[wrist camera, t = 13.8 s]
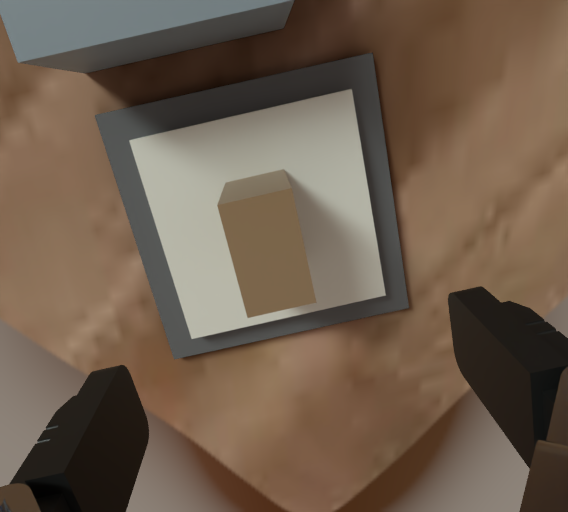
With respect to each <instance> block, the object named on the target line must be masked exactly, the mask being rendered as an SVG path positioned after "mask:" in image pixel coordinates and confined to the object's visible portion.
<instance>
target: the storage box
mask: <svg viewBox="0 0 568 512" xmlns="http://www.w3.org/2000/svg"><path fill="white" fill-rule="evenodd" d="M293 3H294V0H0V14H1V17H2V20H3V22H4V25H5V28H6V31H7V33H8V36H9V39H10V42H11V44H12V47H13V50H14V53H15V55H16V58H17V61H18V63H24V64H30V65H36V66H42V67H48V68H55V69H61V70H67V71H73V72H79V73H89V72H94V71H98V70H102V69H107V68H111V67H116V66H120V65H125V64H129V63H133V62H138V61H142V60H147V59H151V58H155V57H160V56H164V55H169V54H173V53H177V52H182V51H186V50H191V49H195V48H200V47H204V46H208V45H213V44H217V43H222V42H226V41H230V40H235V39H239V38H244V37H248V36H252V35H257V34H261V33H266V32H270V31H275V30H279V29H283V28H284V26H285V23H286V21H287V18H288V16H289V13H290V11H291V8H292V5H293Z"/></svg>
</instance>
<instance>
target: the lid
mask: <svg viewBox="0 0 568 512" xmlns="http://www.w3.org/2000/svg"><path fill="white" fill-rule="evenodd" d="M129 142H130V145H131V148H132V151H133V155H134V158H135V161H136V164H137V167H138V170H139V174H140V177H141V180H142V183H143V186H144V189H145V193H146V196H147V199H148V202H149V205H150V209H151V212H152V215H153V218H154V221H155V224H156V228H157V231H158V234H159V237H160V240H161V243H162V247H163V250H164V253H165V256H166V259H167V262H168V266H169V269H170V272H171V275H172V278H173V281H174V285H175V288H176V291H177V294H178V297H179V301H180V304H181V307H182V310H183V313H184V316H185V320H186V323H187V326H188V329H189V332H190V335H191V339H195V338H199V337H204V336H208V335H213V334H217V333H221V332H226V331H230V330H235V329H239V328H244V327H248V326H252V325H257V324H261V323H266V322H270V321H275V320H279V319H283V318H288V317H292V316H297V315H301V314H306V313H310V312H315V311H319V310H323V309H328V308H332V307H337V306H341V305H346V304H350V303H354V302H359V301H363V300H368V299H372V298H377V297H381V296H386V294H385V288H384V281H383V275H382V269H381V263H380V257H379V251H378V245H377V239H376V233H375V227H374V221H373V215H372V209H371V203H370V197H369V190H368V184H367V178H366V172H365V166H364V160H363V154H362V148H361V142H360V136H359V130H358V124H357V118H356V112H355V106H354V99H353V93H352V89H348V90H344V91H339V92H335V93H331V94H326V95H322V96H318V97H313V98H309V99H305V100H300V101H296V102H292V103H287V104H283V105H279V106H274V107H270V108H266V109H261V110H257V111H253V112H249V113H244V114H240V115H236V116H231V117H227V118H223V119H218V120H214V121H210V122H205V123H201V124H197V125H192V126H188V127H184V128H179V129H175V130H171V131H166V132H162V133H158V134H154V135H149V136H145V137H141V138H136V139H132V140H129Z"/></svg>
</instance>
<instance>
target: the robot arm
mask: <svg viewBox="0 0 568 512" xmlns="http://www.w3.org/2000/svg"><path fill="white" fill-rule="evenodd" d="M448 305H449V313H450V322H451V330H452V338H453V347H454V353H455V357H456V361H457V364H458V367H459V369H460V371H461V373H462V375H463V376H464V378H465V379H466V381H467V382H468V383H469V385H470V386H471V388H472V389H473V390H474V392H475V393H476V394H477V396H478V397H479V399H480V400H481V402H482V403H483V404H484V406H485V407H486V409H487V410H488V411H489V413H490V414H491V416H492V417H493V418H494V420H495V421H496V422H497V424H498V425H499V427H500V428H501V429H502V431H503V432H504V433H505V435H506V436H507V438H508V439H509V441H510V442H511V443H512V445H513V446H514V448H515V449H516V450H517V452H518V453H519V455H520V456H521V457H522V459H523V460H524V461H525V463H526V464H527V466H528V467H529V468H530V471H529V475H528V479H527V484H526V487H525V492H524V496H523V500H522V504H521V508H520V512H568V338H567V337H565V336H564V335H563V334H562V333H560V332H559V331H556V329H555V328H554V327H553V326H552V325H550V324H549V323H548V322H545V321H544V319H543V318H542V317H540V316H539V315H538V314H537V313H535V312H534V311H533V310H532V309H530V308H528V307H525V306H522V305H519V304H517V303H514V302H511V301H507V302H503V303H501V302H500V301H499V300H497V299H496V298H495V297H494V296H493V295H492V294H490V293H489V292H488V291H487V290H486V289H485V288H483V287H481V286H480V287H475V288H471V289H466V290H462V291H457V292H453V293H450V294H449V297H448ZM148 439H149V427H148V421H147V417H146V414H145V412H144V409H143V406H142V404H141V401H140V398H139V396H138V393H137V391H136V388H135V385H134V383H133V380H132V377H131V375H130V373H129V371H128V369H127V368H126V367H125V366H124V365H120V366H115V367H111V368H106V369H102V370H97V371H93V372H91V373H90V375H89V376H88V378H87V379H86V381H85V383H84V384H83V386H82V388H81V389H80V391H79V393H78V394H77V396H73V397H72V398H71V399H70V400H68V401H67V402H66V403H65V404H64V405H63V406H62V407H61V408H60V409H58V410H57V411H56V413H55V414H54V416H53V417H52V419H51V420H50V422H49V423H48V425H47V426H46V430H44V431H43V433H42V434H41V436H40V437H39V439H38V440H37V441H38V444H35V446H34V447H33V448H32V450H31V451H30V453H29V454H28V456H27V458H26V459H25V461H24V462H23V464H22V465H21V467H20V468H19V470H18V471H17V473H16V475H15V476H14V478H13V479H12V481H11V482H10V484H9V485H5V486H3V487H0V512H126V509H127V506H128V503H129V499H130V496H131V494H132V490H133V487H134V484H135V481H136V478H137V475H138V472H139V469H140V466H141V463H142V459H143V456H144V453H145V450H146V447H147V444H148Z"/></svg>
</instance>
